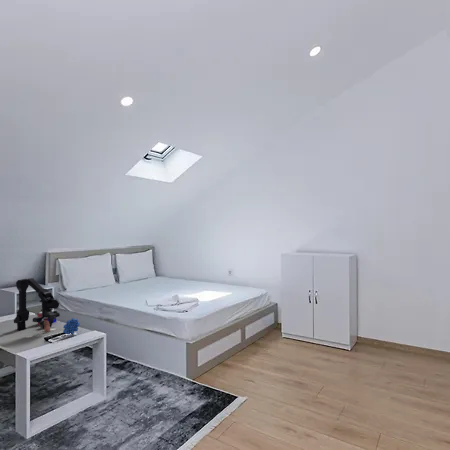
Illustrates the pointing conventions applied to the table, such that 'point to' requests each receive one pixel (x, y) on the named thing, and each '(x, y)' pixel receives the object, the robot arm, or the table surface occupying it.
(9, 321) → the table surface
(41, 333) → the board
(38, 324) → the puzzle cube
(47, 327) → the pawn
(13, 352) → the table surface
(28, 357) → the table surface
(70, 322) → the grapes
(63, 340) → the table surface
